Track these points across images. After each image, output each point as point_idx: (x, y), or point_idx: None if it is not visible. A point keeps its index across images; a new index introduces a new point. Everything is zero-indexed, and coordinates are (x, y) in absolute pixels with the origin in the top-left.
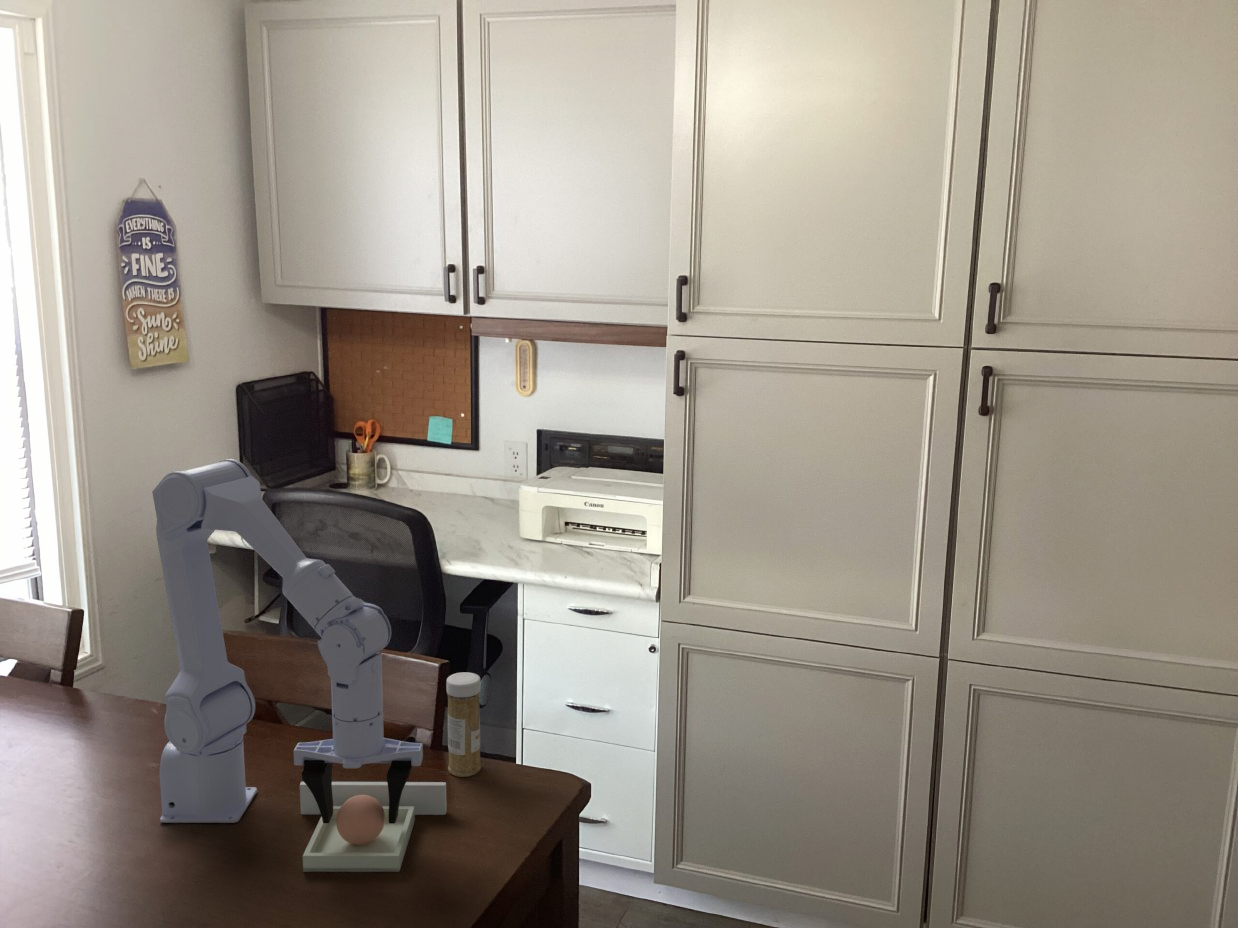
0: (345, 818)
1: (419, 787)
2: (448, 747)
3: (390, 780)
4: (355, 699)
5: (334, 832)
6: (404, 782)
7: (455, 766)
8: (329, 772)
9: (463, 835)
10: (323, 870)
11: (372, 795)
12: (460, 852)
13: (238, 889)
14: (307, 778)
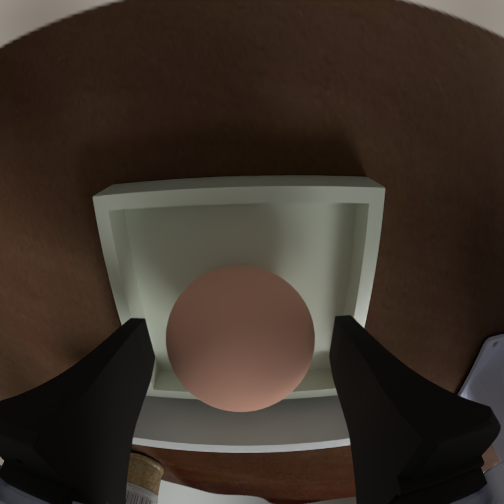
0: (277, 315)
1: (139, 433)
2: (152, 495)
3: (36, 421)
4: None
5: (317, 329)
6: (1, 401)
7: (141, 467)
8: (365, 470)
9: (48, 320)
10: (315, 176)
11: (247, 424)
12: (28, 266)
13: (480, 119)
14: (483, 419)
